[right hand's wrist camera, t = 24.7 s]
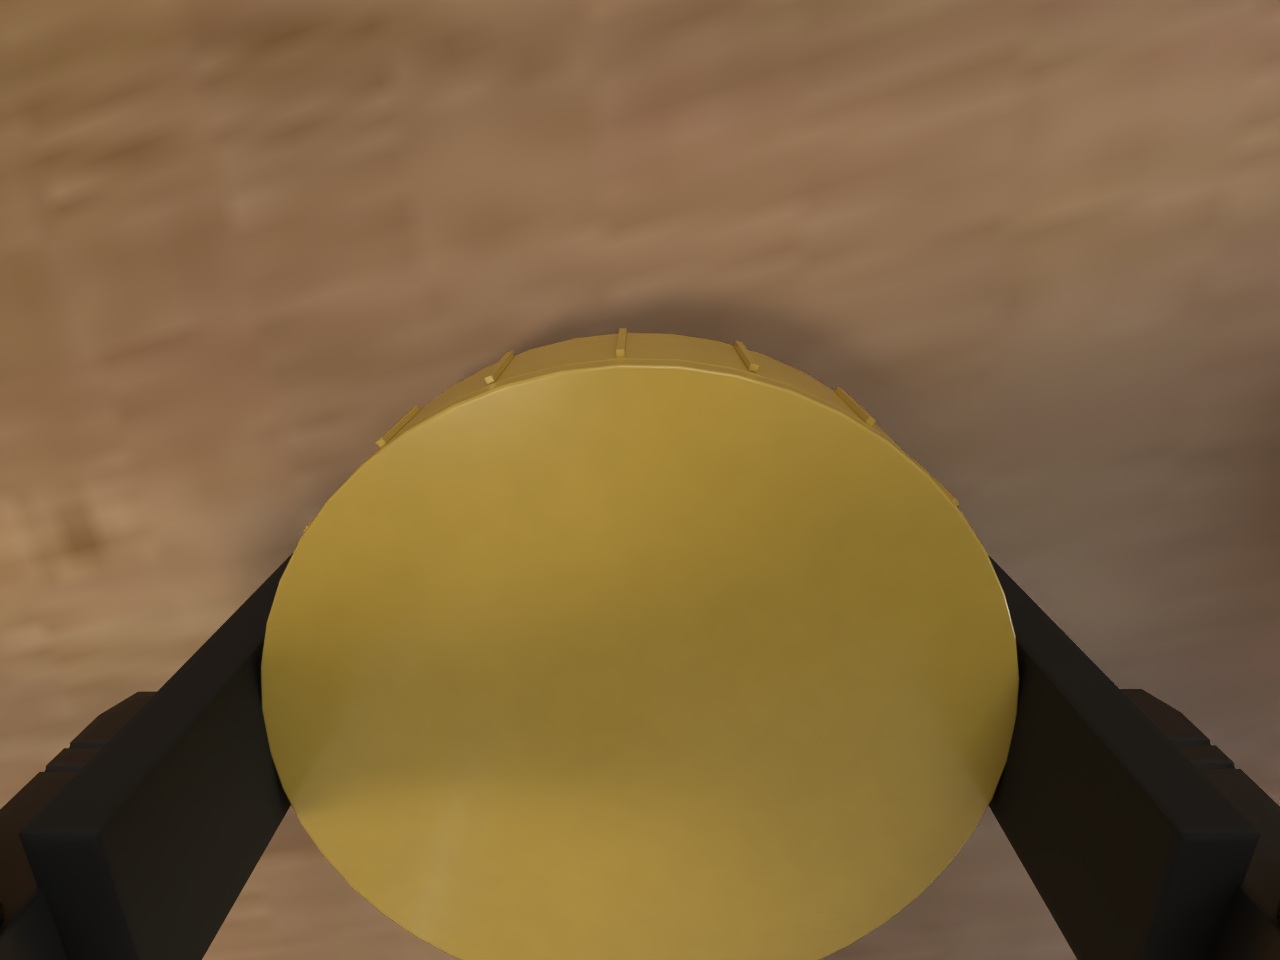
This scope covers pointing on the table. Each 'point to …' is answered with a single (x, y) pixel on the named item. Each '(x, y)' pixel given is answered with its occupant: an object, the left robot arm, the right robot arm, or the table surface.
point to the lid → (639, 663)
